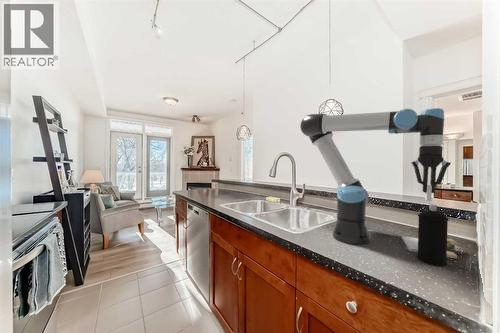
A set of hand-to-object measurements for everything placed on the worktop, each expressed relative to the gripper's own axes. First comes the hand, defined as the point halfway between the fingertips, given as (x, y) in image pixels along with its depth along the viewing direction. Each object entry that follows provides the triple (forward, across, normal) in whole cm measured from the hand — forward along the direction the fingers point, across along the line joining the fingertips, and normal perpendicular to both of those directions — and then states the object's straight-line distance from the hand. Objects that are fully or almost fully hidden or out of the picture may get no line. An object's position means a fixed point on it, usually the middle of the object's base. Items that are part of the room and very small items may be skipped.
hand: (428, 200), depth 90 cm
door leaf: (+18, +2, -7) cm, 20 cm away
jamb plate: (+19, -5, -7) cm, 20 cm away
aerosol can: (+19, -2, -21) cm, 28 cm away
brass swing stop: (+17, +2, -7) cm, 19 cm away
